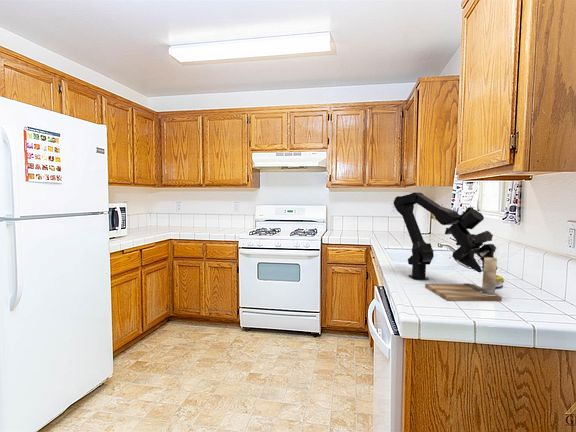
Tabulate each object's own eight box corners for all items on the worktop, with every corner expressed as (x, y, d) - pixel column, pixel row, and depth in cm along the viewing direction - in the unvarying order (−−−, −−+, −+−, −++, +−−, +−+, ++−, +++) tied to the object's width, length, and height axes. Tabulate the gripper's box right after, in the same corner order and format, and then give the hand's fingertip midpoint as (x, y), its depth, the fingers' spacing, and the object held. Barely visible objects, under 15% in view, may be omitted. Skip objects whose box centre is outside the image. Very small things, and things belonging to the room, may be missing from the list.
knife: (506, 292, 134) (502, 278, 155) (507, 285, 133) (502, 273, 155) (483, 289, 137) (482, 276, 159) (484, 283, 137) (482, 271, 159)
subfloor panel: (425, 287, 137) (425, 282, 137) (473, 287, 138) (473, 283, 138) (447, 300, 120) (447, 295, 120) (501, 300, 122) (501, 295, 121)
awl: (480, 293, 124) (482, 258, 123) (483, 291, 127) (486, 256, 126) (492, 295, 121) (495, 259, 120) (496, 293, 124) (498, 258, 123)
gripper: (461, 224, 123) (489, 260, 114) (493, 223, 132) (521, 256, 123) (441, 242, 131) (466, 277, 122) (472, 240, 139) (497, 273, 130)
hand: (488, 270), depth 124 cm, fingers open, 9 cm apart
